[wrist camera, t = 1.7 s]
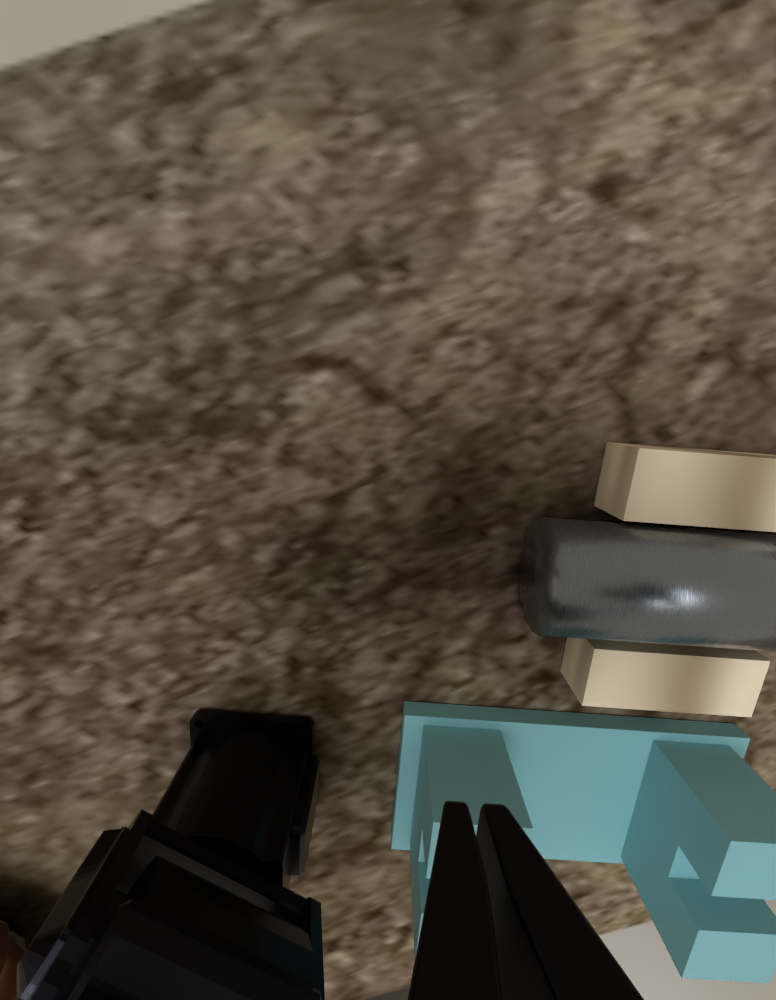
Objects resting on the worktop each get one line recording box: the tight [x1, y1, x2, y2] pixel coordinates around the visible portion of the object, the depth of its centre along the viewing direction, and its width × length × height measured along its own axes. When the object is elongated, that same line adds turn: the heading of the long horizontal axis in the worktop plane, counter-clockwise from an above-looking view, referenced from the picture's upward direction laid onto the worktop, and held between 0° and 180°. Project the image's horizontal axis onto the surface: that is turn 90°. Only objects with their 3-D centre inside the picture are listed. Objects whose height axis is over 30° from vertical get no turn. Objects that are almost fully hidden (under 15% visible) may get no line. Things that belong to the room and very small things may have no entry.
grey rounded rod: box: [519, 517, 776, 652], centre depth 18 cm, size 14×5×5 cm, turn 86°
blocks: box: [560, 442, 776, 717], centre depth 19 cm, size 8×12×2 cm, turn 176°
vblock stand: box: [391, 701, 776, 983], centre depth 20 cm, size 18×9×6 cm, turn 86°
